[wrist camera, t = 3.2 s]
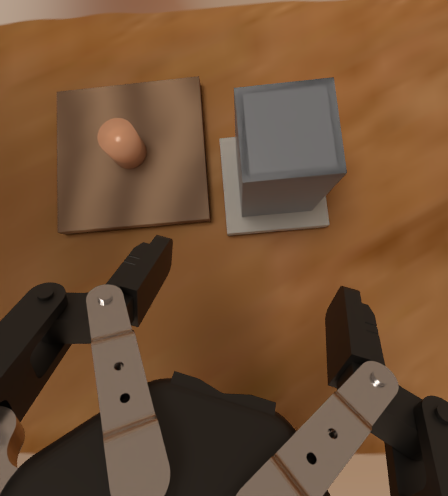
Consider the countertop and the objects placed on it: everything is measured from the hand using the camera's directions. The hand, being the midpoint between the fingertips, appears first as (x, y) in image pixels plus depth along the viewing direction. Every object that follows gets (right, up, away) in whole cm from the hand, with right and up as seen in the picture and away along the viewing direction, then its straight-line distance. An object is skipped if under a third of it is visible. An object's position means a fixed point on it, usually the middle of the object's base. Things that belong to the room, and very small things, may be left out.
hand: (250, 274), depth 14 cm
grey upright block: (+3, +7, +13) cm, 15 cm away
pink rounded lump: (-10, +10, +14) cm, 20 cm away
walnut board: (-10, +10, +15) cm, 21 cm away
